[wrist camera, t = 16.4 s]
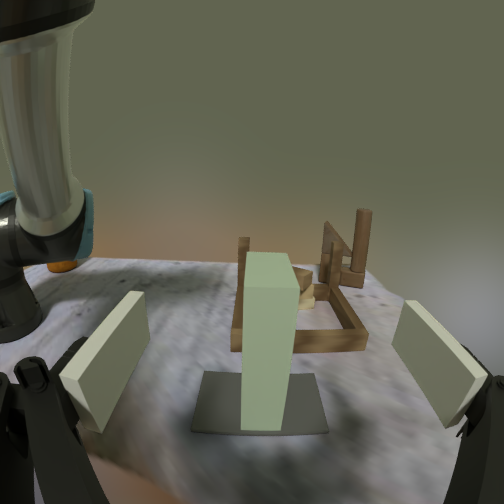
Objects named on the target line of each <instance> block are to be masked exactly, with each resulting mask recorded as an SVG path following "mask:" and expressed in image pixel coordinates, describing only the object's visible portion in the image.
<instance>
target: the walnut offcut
mask: <svg viewBox="0 0 504 504" xmlns="http://www.w3.org/2000/svg"><path fill="white" fill-rule="evenodd" d="M292 268H293V271H294V273H295V276H296V279H297V281H298V284H299V286H300V290H302V291H303V290H304V289H306V288H307V287H309V286H310V285H311V284H312V275H313V271H309V270H305V269H301V268H297V267H293V266H292Z"/></svg>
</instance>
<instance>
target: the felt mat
mask: <svg viewBox="0 0 504 504" xmlns="http://www.w3.org/2000/svg"><path fill="white" fill-rule="evenodd" d="M241 386H242V373H229V372H213V371H204V374H203V378H202V382H201V387H200V391H199V395H198V400H197V404H196V408H195V413H194V417H193V422H192V426H191V431H192V432H201V433H211V434H224V435H242V436H293V435H312V434H324V433H328V432H329V429H328V425H327V421H326V417H325V413H324V409H323V405H322V401H321V398H320V394H319V390H318V386H317V382H316V379H315V375H314V373H307V374H290V375H289V381H288V388H287V395H286V401H285V407H284V413H283V419H282V425H281V430H278V431H259V430H241Z"/></svg>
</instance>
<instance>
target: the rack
mask: <svg viewBox="0 0 504 504" xmlns="http://www.w3.org/2000/svg"><path fill="white" fill-rule="evenodd" d="M249 240H250V238H249V237H239V242H238V244H239V245H238V286H237V293H236V300H235V307H234V314H233V321H232V328H231V352H242V338H243V297H244V278H245V267H246V257H247V252H249ZM343 248H344V243H343V242H341V241H331V251H330V260H329V268H328V276H327V284H313V285H314V291H313V297H314V298H315V301H329V302H330V304H331V306H332V308H333V310H334V312H335V314H336V315H337V317H338V319H339V321H340V323H341V325H342V327H343V329H335V330H295V338H294V345H293V353H325V352H347V351H363V350H365V347H366V344H367V340H368V336H369V333H368V331H367V330H366V328H365V327H364V325H363V324H362V322H361V321H360V319H359V318H358V316H357V315H356V313H355V312H354V310H353V309H352V307H351V306H350V304H349V303H348V301H347V300H346V298H345V297H344V295H343V294H342V292H341V291H340V289H339V288H338V286H339V279H340V272H341V264H342V257H343Z"/></svg>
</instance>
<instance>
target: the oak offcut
mask: <svg viewBox="0 0 504 504" xmlns="http://www.w3.org/2000/svg"><path fill="white" fill-rule="evenodd" d="M313 291H314V285H313V284H311V285H310V286H309V287H307V288H306V289H304V290H303V291H302V290H300V294H299V299H313Z"/></svg>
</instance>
